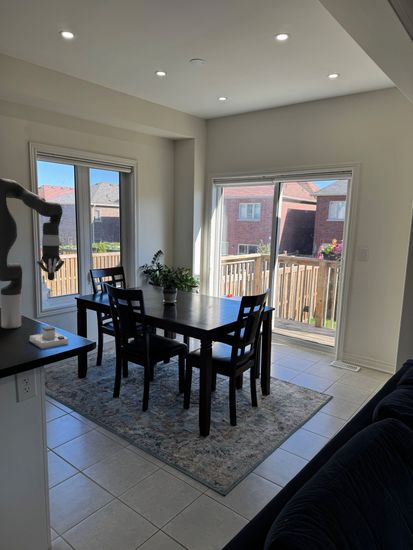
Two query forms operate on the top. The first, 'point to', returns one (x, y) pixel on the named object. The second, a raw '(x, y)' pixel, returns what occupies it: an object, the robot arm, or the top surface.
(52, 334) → the plug
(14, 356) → the top surface
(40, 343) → the socket
